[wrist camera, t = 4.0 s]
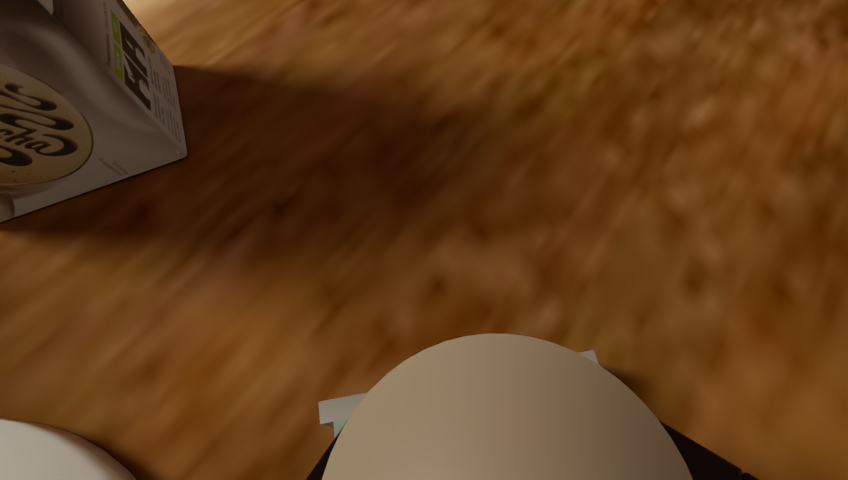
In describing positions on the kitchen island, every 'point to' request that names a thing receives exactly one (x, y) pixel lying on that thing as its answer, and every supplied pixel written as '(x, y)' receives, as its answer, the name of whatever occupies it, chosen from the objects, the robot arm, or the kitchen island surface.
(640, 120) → the kitchen island surface
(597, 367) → the rubber stamp
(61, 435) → the white plate
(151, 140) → the coffee box
